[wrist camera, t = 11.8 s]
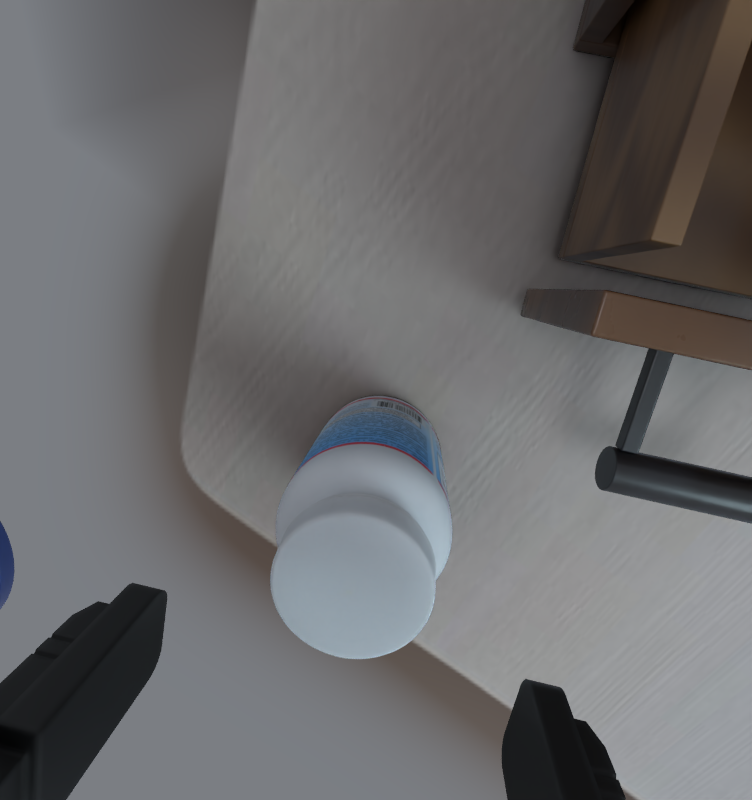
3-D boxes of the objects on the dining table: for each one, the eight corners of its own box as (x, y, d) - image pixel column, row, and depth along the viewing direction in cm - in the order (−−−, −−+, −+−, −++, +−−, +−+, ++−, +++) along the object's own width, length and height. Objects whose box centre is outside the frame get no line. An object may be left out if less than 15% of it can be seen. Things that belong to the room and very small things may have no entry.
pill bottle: (295, 445, 24) (197, 572, 14) (386, 368, 23) (359, 441, 12) (373, 530, 25) (340, 717, 14) (466, 461, 24) (508, 607, 13)
